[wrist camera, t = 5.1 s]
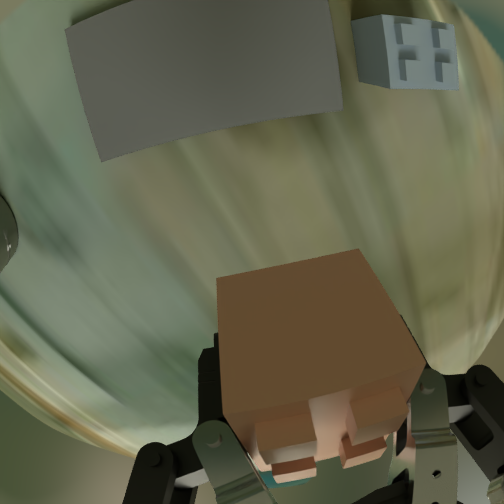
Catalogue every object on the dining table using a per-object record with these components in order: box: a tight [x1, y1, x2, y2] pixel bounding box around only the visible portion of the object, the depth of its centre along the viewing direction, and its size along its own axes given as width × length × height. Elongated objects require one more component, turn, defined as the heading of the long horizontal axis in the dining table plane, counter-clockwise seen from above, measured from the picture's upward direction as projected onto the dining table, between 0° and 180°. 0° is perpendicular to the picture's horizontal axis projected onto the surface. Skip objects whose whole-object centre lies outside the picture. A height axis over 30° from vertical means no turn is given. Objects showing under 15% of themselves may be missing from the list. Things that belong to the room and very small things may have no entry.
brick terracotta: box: [216, 249, 426, 483], centre depth 10 cm, size 6×5×6 cm
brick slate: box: [351, 14, 459, 91], centre depth 16 cm, size 6×5×6 cm
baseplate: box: [65, 0, 343, 162], centre depth 18 cm, size 18×11×1 cm, turn 100°
